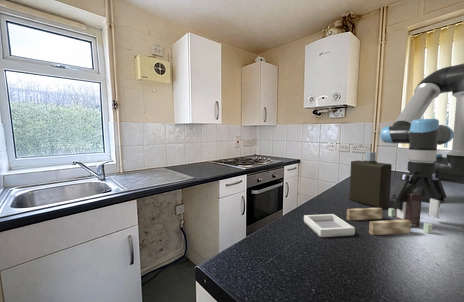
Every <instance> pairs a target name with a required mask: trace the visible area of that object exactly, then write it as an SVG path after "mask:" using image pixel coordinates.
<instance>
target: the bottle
mask: <svg viewBox="0 0 464 302" xmlns="http://www.w3.org/2000/svg"><path fill="white" fill-rule="evenodd" d="M376 155H377V152H375V151H365V158H364V159H365V160H351V161H350V173H349V177H350V179H349V181H350V182H349V197H348V198H349V201H350V200H351V201H350V202H355V203H357V202H358V204H362V205H365V206H368V207H370V208H382V209H383V210H384V209H387V208H388V209H389V208H390V201H391V200H390V199H391V198H390V197H391V183H392V164H391V163H385V162H378V161H376Z"/></svg>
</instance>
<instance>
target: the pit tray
mask: <svg viewBox="0 0 464 302" xmlns="http://www.w3.org/2000/svg"><path fill="white" fill-rule="evenodd" d="M303 222H304V223H305V224H306V225H307V226H308V227H309V228H310V229H311V230H312V231H313V232H314V233H315V234H317V236H318V237H320V238H328V237H329V238H331V237H332V238H333V237H346V236H355V235H356V234H355V232H356V227H354V226H353V225H351V224H349V223H347V222H346V221H345V220H343V219H342V218H340V217H338V216H337V215H336V214H334V213H328V214H327V213H326V214H308V215H307V214H304V215H303Z"/></svg>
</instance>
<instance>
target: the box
mask: <svg viewBox="0 0 464 302" xmlns="http://www.w3.org/2000/svg"><path fill="white" fill-rule="evenodd" d="M401 198H402V197H401ZM405 202H406V216H405V219H401V218H399V217H397V208H396V207H395V219H394V220H406V219H407V220H409V221H411V228H419V227H420V224H421V222H420V221H421V211H422V202H423V201H422V194H418V193H414V192H411V193H408V194H407V198H406V200H405Z"/></svg>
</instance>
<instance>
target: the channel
mask: <svg viewBox="0 0 464 302" xmlns="http://www.w3.org/2000/svg"><path fill="white" fill-rule="evenodd" d="M383 210H384V209H382V208H374V207H361V208H360V207H359V208H347V209H346V220H348V221H366V220H368V221H369V220H374V221H369V226H368V233H369V234H370V235H371V236H379V235H381V236H382V235H396V234H397V235H398V234H410V233H411V232H412V231H411V229H412V227H411V221H409V220H407V219H406V220H395V219H391V220H382V219H383V212H384V211H383Z"/></svg>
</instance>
